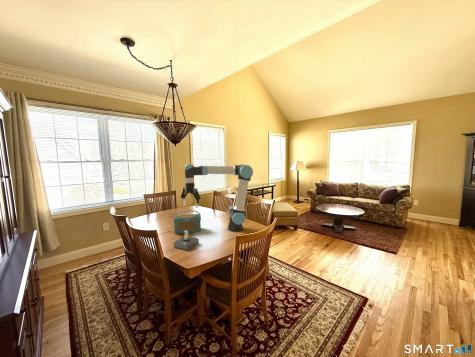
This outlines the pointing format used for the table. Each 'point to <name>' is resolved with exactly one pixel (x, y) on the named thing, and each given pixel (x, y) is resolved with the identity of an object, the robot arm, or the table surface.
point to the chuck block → (186, 243)
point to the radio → (187, 222)
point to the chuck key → (186, 235)
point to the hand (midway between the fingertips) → (190, 206)
